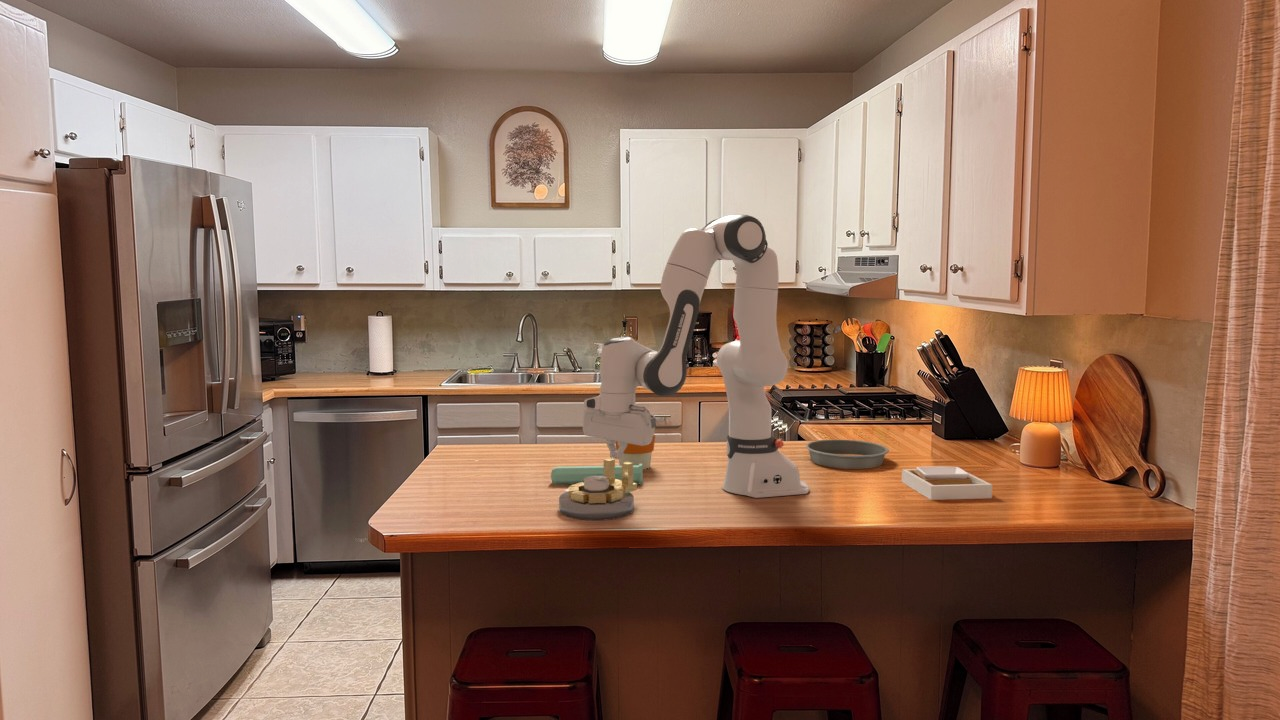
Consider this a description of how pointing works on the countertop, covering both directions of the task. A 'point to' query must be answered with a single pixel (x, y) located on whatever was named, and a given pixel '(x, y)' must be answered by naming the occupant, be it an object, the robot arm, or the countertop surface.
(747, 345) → the robot arm
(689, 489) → the countertop surface
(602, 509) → the grey round piece
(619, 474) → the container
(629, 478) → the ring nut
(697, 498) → the countertop surface
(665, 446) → the countertop surface
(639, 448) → the reusable coffee cup
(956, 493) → the dish tray
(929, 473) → the soap dish
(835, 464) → the cake pan
